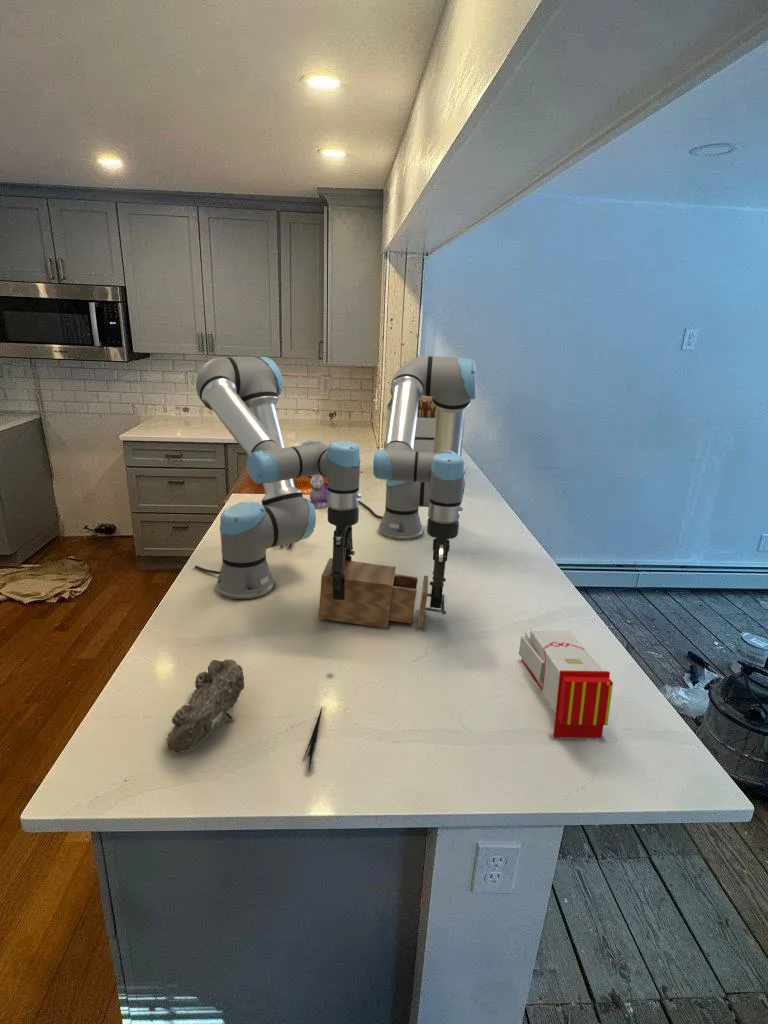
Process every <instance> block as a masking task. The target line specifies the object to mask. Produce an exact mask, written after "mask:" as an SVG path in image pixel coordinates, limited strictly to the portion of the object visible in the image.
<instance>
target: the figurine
mask: <svg viewBox="0 0 768 1024" xmlns="http://www.w3.org/2000/svg"><path fill="white" fill-rule="evenodd" d="M311 476H312V479H311V478H310V481H309V486H310V487H311V489H310V492H309V500H310V501H311V503H312V504H313V506H314V508H315V509H320V508H326V507H329V506H328V504H327V492H328V486H327V485H324V482H325V479H324V478H323V476H321V475H311Z"/></svg>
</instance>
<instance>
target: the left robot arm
mask: <svg viewBox="0 0 768 1024" xmlns="http://www.w3.org/2000/svg"><path fill="white" fill-rule="evenodd" d="M195 389H196V393H197V396H198V398H199V400H200V401H201V403H202V404H203V405H204V406H205V407H206V408H207V409H208V410H210V411H213V412H214V413H215V415H216V416H217V417H218V419H219V420H220V421H221V423H222V424H223V425H224V427H225V428H226V429H227V430H228V432H229V433H230V435H231V436H232V437H233V439H234V440H235V441H236V443H237V444H238V445H239V446H240V448H241V450H243V452H244V454H246V456H247V459H246V470H247V472H248V476H249V478H250V479H251V481H252V482H254V483H255V484H259V485H261V484H262V486H263V490H264V495H263V497H262V499H261V503H260V502H257V501H248V502H247V501H244V502H238V503H235V504H232V505H230V506H228V507H227V508H225V509H224V510H223V511H222V513H221V514H220V518H219V522H220V523H219V532H220V545H221V559H222V563H221V567H220V569H219V570H212V569H207V568H204V567H201V566H199V565H194V568H195V569H197V570H199V571H202V572H205V573H209V574H216V575H218V577H217V581H216V590H217V592H218V593H219V595H220V596H222V597H224V598H227V599H231V600H243V601H244V600H252V599H256V598H260V597H263V596H265V595H267V594H268V593H270V592H271V591H272V590H273V588H274V576H273V575H272V572H271V570H270V566H269V564H268V561H267V550H269V549H271V548H277V547H280V545H283V546H284V545H289V544H288V543H292V542H294V543H297V542H300V541H303V540H306V539H308V538H310V537H311V536H312V535H313V533H314V531H315V528H316V524H317V513H316V508H314V506H313V504H312V503H311V499H310V498H307V497H304V495H303V491H302V490H300V489H299V488H297V487H296V485H295V481H294V479H299V478H306V477H307V476H312V475H321V476H322V478H323V477H324V478H326V479H327V484H328V486H327V487H328V492H327V504H328V506H327V507H328V508H327V522H328V523H329V524H330V525H333V526H335V530H333V537H332V540H333V541H332V544H333V545H332V546H333V547H332V558H333V560H332V574H331V573H330V576H331V577H333V599H335V600H344V592H345V575H344V565H345V560H348V561H353V560H352V558H353V557H352V556H355V550H353V549H354V546H353V545H354V544H353V526H354V525H356V524H357V523H358V522H359V521H360V520H359V519H360V517H359V515H360V508H359V505H360V503H359V501H360V499H361V498H362V494H361V493H360V474H361V473H360V472H361V469H360V468H361V458H360V457H361V456H360V447H359V445H358V444H357V443H355V442H352V441H346V440H339V441H333V442H330V443H329V444H326V443H323V442H321V441H317V440H316V441H315V440H306V441H304V442H303V443H302V444H300V445H298V446H289V447H286V446H285V441H284V438H283V434H282V430H281V426H280V422H279V417H278V413H277V410H276V405H277V404H278V402H279V396H280V395H281V393H282V391H283V377H282V372H281V370H280V368H279V366H278V365H277V363H276V362H275V361H274V360H273V359H271V358H270V357H267V356H258V355H252V356H219V357H215V358H212V359H210V360H208V361H206V363H204V364H203V366H202V367H201V368H200V369H199V371H198V373H197V376H196V380H195ZM292 544H293V543H292Z"/></svg>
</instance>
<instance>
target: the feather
mask: <svg viewBox="0 0 768 1024" xmlns="http://www.w3.org/2000/svg"><path fill="white" fill-rule="evenodd" d="M329 675H330V676H331V675H332V674H331V673H330V674H329ZM322 710H323V707H321V708H320V710H319V713H318V716H317V719H316V723H315V725H314V728H313V731H312V733H311V737H310V739H309V742H308V745H307V748H306V751H305V754H304V757H303V760H302V763H301V767H302V765H303V763H304V761H305V758H308V759H309V760H308V762H307V763H308V764H307V766H308V771H310V770H311V766H312V765H311V764H312V760H313V757H315V756H314V755H315V751H316V749H315V746H317V739H318V733H319V729H320V722H321V717H322V712H323V711H322ZM313 754H314V755H313ZM306 755H307V757H306Z"/></svg>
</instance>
